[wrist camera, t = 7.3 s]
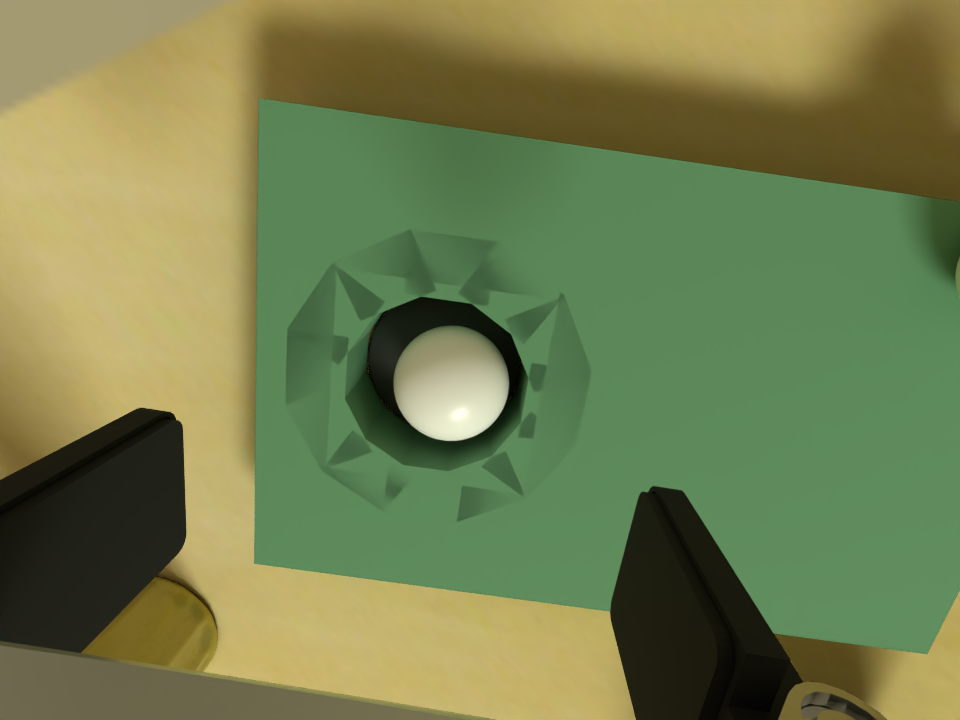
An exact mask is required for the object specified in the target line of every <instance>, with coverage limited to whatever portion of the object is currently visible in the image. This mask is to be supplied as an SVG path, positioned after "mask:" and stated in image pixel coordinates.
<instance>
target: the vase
mask: <svg viewBox="0 0 960 720" xmlns="http://www.w3.org/2000/svg"><path fill="white" fill-rule="evenodd" d="M217 641H218V635H217V629H216V625H215V622H214V620H213V617H212V615H211V613H210V611H209V610H208V609H207V607H206V606H205V605H204V604H203V603H202V602H201V601H200V600H199V599H198V598H197V597H196V596H195V595H194V594H193V593H191V592H190V591H189V590H187V589H186V588H185V587H183V586H181V585H179V584H177V583H174V582H172V581H169V580H166V579H163V578H160V577H155V578H154V579H153V580H152V581H151V582H150V583H149V584H148V585H147V586H146V587H145V588H144V589H143V590H142V591H141V592H140V593H139V594H138V595H137V596H136V597H135V598H134V599H133V600H132V601H131V602H130V603H129V604H128V605H127V606H126V607H125V608H124V610H123V611H122V612H121V613H120V614H119V615H118V616H117V617H116V618H115V619H114V620H113V621H112V622H111V623H110V624H109V625H108V626H107V627H106V628H105V629H104V630H103V631H102V632H101V633H100V634H99V635H98V636H97V637H96V638H95V639H94V640H93V641H92V642H91V643H90V644H89V645H88V646H87V647H86V648H85V649H84V650H83V651H82V653H83V654H89V655H96V656H103V657H109V658H116V659H122V660H129V661H135V662H142V663H148V664H155V665H161V666H168V667H174V668H181V669H187V670H193V671H200V672H203V671H204V670H205V669H206V667H207V666H208V665H209V663H210V661H211V660H212V658H213V656H214V654H215V651H216V648H217Z"/></svg>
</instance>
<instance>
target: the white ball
mask: <svg viewBox="0 0 960 720" xmlns="http://www.w3.org/2000/svg"><path fill="white" fill-rule="evenodd" d="M508 390H509V376H508V370H507V366H506V363H505V361H504V359H503V356H502V355H501V353H500V351H499V350H498V349H497V347H496V346H495V345H494V344H493V343H492V342H491V341H490V340H489V339H488V338H487V337H485V336H484V335H482V334H480V333H479V332H477V331H475V330H472V329H469V328H467V327H462V326H452V325H450V326H440V327H436V328H433V329H431V330H428V331H426V332H424V333H422V334H420V335H419V336H417V337H416V338H415V339H414V340H413V341H412V342H410V344H409V345H408V346H407V347H406V348H405V350H404V351H403V353H402V354H401V356H400V358H399V360H398V362H397V365H396V368H395V373H394V394H395V398H396V402H397V404H398V407H399V409H400V411H401V412H402V414H403V416H404V417H405V419H406V420H407V421H408V422H409V423H410V424H411V425H412V426H413V427H414V428H415V429H417V430H418V431H419V432H421V433H423V434H425V435H427V436H429V437H432V438H434V439H439V440H444V441H458V440H464V439H467V438H471V437H473V436H476V435H478V434H479V433H481V432H483V431H484V430H486V429H487V428H488V427H489V426H491V425H492V424H493V423H494V421H495V420H496V419H497V418H498V416H499V415H500V413H501V412H502V410H503V408H504V405H505V403H506V400H507V396H508Z"/></svg>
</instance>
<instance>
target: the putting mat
mask: <svg viewBox="0 0 960 720" xmlns="http://www.w3.org/2000/svg"><path fill="white" fill-rule="evenodd" d="M959 257H960V202H958V201H951V200H944V199H937V198H931V197H924V196H917V195H910V194H903V193H897V192H890V191H883V190H876V189H870V188H863V187H856V186H849V185H843V184H836V183H829V182H822V181H816V180H809V179H802V178H795V177H789V176H782V175H775V174H768V173H762V172H755V171H748V170H741V169H734V168H728V167H721V166H714V165H707V164H701V163H694V162H687V161H680V160H674V159H667V158H660V157H653V156H647V155H640V154H633V153H626V152H620V151H613V150H606V149H599V148H593V147H586V146H579V145H572V144H565V143H559V142H552V141H545V140H538V139H532V138H525V137H518V136H511V135H505V134H498V133H491V132H484V131H478V130H471V129H464V128H457V127H451V126H444V125H437V124H430V123H424V122H417V121H410V120H403V119H396V118H390V117H383V116H376V115H369V114H363V113H356V112H349V111H342V110H336V109H329V108H322V107H315V106H309V105H302V104H295V103H288V102H282V101H275V100H268V99H261V98H259V109H258V217H257V325H256V433H255V541H254V564H261V565H268V566H276V567H283V568H290V569H298V570H305V571H313V572H320V573H328V574H335V575H343V576H350V577H357V578H365V579H372V580H380V581H387V582H395V583H402V584H409V585H417V586H424V587H432V588H439V589H447V590H454V591H461V592H469V593H476V594H484V595H491V596H499V597H506V598H514V599H521V600H528V601H536V602H543V603H551V604H558V605H566V606H573V607H580V608H588V609H595V610H603V611H610V608H611V600H612V596H613V592H614V588H615V585H616V581H617V577H618V573H619V569H620V565H621V562H622V558H623V554H624V550H625V546H626V543H627V539H628V535H629V531H630V527H631V523H632V520H633V516H634V512H635V508H636V504H637V500H638V497H639V495H640V493H641V492H642V491H643V492H648V491H649V489H650V488H651V487H652V486H658V487H664V488H671V489H677V490H682V491H683V492H684V493H685V494H686V496H687V497H688V499H689V501H690V502H691V504H692V505H693V507H694V509H695V510H696V512H697V513H698V515H699V516H700V518H701V520H702V521H703V523H704V524H705V526H706V527H707V529H708V531H709V532H710V534H711V535H712V537H713V539H714V540H715V542H716V543H717V545H718V546H719V548H720V550H721V551H722V553H723V554H724V556H725V557H726V559H727V561H728V562H729V564H730V565H731V567H732V569H733V570H734V572H735V573H736V575H737V576H738V578H739V580H740V581H741V583H742V584H743V586H744V587H745V589H746V591H747V592H748V594H749V595H750V597H751V598H752V600H753V602H754V603H755V605H756V606H757V608H758V610H759V611H760V613H761V614H762V616H763V617H764V619H765V621H766V622H767V624H768V625H769V627H770V628H771V630H772V632H773V633H774V634H781V635H789V636H796V637H803V638H811V639H818V640H826V641H833V642H841V643H848V644H856V645H863V646H870V647H878V648H885V649H893V650H900V651H908V652H915V653H922V654H928V652H929V650H930V648H931V646H932V644H933V642H934V640H935V638H936V636H937V634H938V632H939V630H940V628H941V626H942V624H943V622H944V620H945V618H946V616H947V614H948V612H949V610H950V608H951V606H952V604H953V602H954V601H955V599H956V597H957V595H958V593H959V591H960V297H959V294H958V292H957V288H956V280H955V276H956V267H957V263H958V260H959ZM389 309H390V310H389ZM386 310H389V311H388V312H387V313H386V314H385V316H384V317H383V318H382V319H381V321H380V323H379V324H378V326H377V328H376V330H375V332H374V334H373V337H372V341H371V345H370V351H369V365H370V373H371V376H372V380H373V383H374V385H375V387H374V385H373V383H372V381H371V379H370V377H369V375H368V373H367V371H366V370H367V357H368V344H369V331H370V330H371V329H372V327H373V326H374V325H375V323H376V322H377V321H378V319H379V318H380V316H381V315H382V314H383V312H384V311H386ZM450 325H452V326H462V327H467V328H469V329H472V330H475V331H477V332H479V333H480V334H482V335H484V336H485V337H487V338H488V339H489V340H490V341H491V342H492V343H493V344H494V345H495V346H496V347H497V349H498V350H499V351H500V353H501V355H502V356H503V359H504V361H505V363H506V366H507V370H508V376H509V390H508V396H507V400H508V399H509V397H510V395H511V393H512V391H513V389H514V386H515V384H516V380H517V376H518V368H519V356H518V353H519V355H520V358H521V360H522V365H521V371H520V377H519V383H518V389H517V392H516V394H515V395H514V396H513V397H512V398H511V399H510V401H509V402H508V403H507V404H506V405H505V406H504V408H503V410H502V412H501V413H500V415H499V416H498V418H497V419H496V420H495V421H494V423H493V424H492V425H491V426H489V427H488V428H487V429H486V430H484V431H483V432H481V433H479V434H478V435H476V436H473V437H471V438H467V439H464V440H458V441H444V440H439V439H434V438H432V437H429V436H427V435H425V434H423V433H421V432H419V431H418V430H417V429H415V428H414V427H412V426H411V425H410V424H408V423H409V422H408V421H407V420H406V419H405V417H404V416H403V414H402V412H401V411H400V409H399V407H398V404H397V402H396V398H395V394H394V373H395V368H396V365H397V362H398V360H399V358H400V356H401V354H402V353H403V351H404V350H405V348H406V347H407V346H408V345H409V344H410V342H412V341H413V340H414V339H415V338H416V337H417V336H419V335H420V334H422V333H424V332H426V331H428V330H431V329H433V328H436V327H440V326H450ZM375 388H376V389H375ZM376 390H377V391H376ZM377 392H378V393H379V395H380V397H381V398H382V400H383V401H384V402H385V404H386V405H387V406H388V407H389V408H390V409H391V410H392V411H393V412H394V413H395V414H396V415H395V414H394V413H393V412H391V411H390V410H388V409H387V408H386V407H384V406H383V404H382V402H381V400H380V398H379V395H378V393H377ZM507 400H506V402H507ZM397 415H398V416H399V417H398V416H397ZM401 418H402V419H401ZM404 420H405V421H406V422H405V421H404ZM407 422H408V423H407Z"/></svg>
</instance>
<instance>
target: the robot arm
mask: <svg viewBox="0 0 960 720" xmlns="http://www.w3.org/2000/svg"><path fill="white" fill-rule="evenodd" d="M185 539H186V509H185V479H184V448H183V427H182V424H181V422H180V421H178V420H176V418H175V416H174V414H172V413H171V412H166V411H159V410H153V409H146V408H139V409H136V410H134V411H132V412H130V413H128V414H126V415H124V416H122V417H120V418H118V419H117V420H115V421H113V422H111V423H109V424H107V425H105V426H103V427H101V428H99V429H97V430H95V431H94V432H92V433H90V434H88V435H86V436H84V437H82V438H80V439H78V440H76V441H74V442H72V443H70V444H69V445H67V446H65V447H63V448H61V449H59V450H57V451H55V452H53V453H51V454H49V455H47V456H46V457H44V458H42V459H40V460H38V461H36V462H34V463H32V464H30V465H28V466H26V467H24V468H23V469H21V470H19V471H17V472H15V473H13V474H11V475H9V476H7V477H5V478H3V479H1V480H0V720H495V719H489V718H483V717H477V716H471V715H465V714H459V713H453V712H447V711H441V710H435V709H429V708H423V707H417V706H411V705H405V704H399V703H393V702H387V701H381V700H375V699H369V698H362V697H356V696H350V695H344V694H337V693H331V692H325V691H319V690H313V689H306V688H300V687H294V686H288V685H282V684H275V683H269V682H263V681H256V680H250V679H244V678H237V677H231V676H225V675H219V674H212V673H206V672H200V671H193V670H187V669H181V668H174V667H168V666H161V665H155V664H148V663H142V662H135V661H129V660H122V659H116V658H109V657H103V656H96V655H89V654H83V653H82V651H83V650H84V649H85V648H86V647H87V646H88V645H89V644H90V643H91V642H92V641H93V640H94V639H95V638H96V637H97V636H98V635H99V634H100V633H101V632H102V631H103V630H104V629H105V628H106V627H107V626H108V625H109V624H110V623H111V622H112V621H113V620H114V619H115V618H116V617H117V616H118V615H119V614H120V613H121V612H122V611H123V610H124V608H125V607H126V606H127V605H128V604H129V603H130V602H131V601H132V600H133V599H134V598H135V597H136V596H137V595H138V594H139V593H140V592H141V591H142V590H143V589H144V588H145V587H146V586H147V585H148V584H149V583H150V582H151V581H152V580H153V579H154V578H155V577H156V576H157V575H158V574H159V573H160V572H161V571H162V570H163V569H164V568H165V566H166V565H167V564H168V563H169V562H170V561H171V560H172V559H173V558H174V557H175V556H176V555H177V554H178V553H179V552H180V550H181V549H182V547H183V545H184V542H185ZM610 614H611V622H612V626H613V630H614V634H615V638H616V642H617V646H618V650H619V654H620V658H621V661H622V665H623V669H624V673H625V677H626V681H627V685H628V689H629V693H630V697H631V701H632V705H633V709H634V713H635V717H636V720H887V719H886V718H885V717H884V716H883V715H882V714H881V713H879V712H878V711H877V710H875V709H874V708H872V707H871V706H869V705H868V704H866V703H865V702H864V701H862V700H861V699H859V698H857V697H855V696H853V695H851V694H849V693H847V692H845V691H843V690H841V689H839V688H836V687H833V686H830V685H827V684H824V683H817V682H804V683H803V681H802V680H801V678H800V676H799V675H798V673H797V672H796V670H795V668H794V667H793V665H792V664H791V662H790V658H789V657H788V655H787V654H786V652H785V651H784V649H783V647H782V646H781V644H780V643H779V641H778V640H777V638H776V636H775V635H774V633H773V632H772V630H771V628H770V627H769V625H768V624H767V622H766V621H765V619H764V617H763V616H762V614H761V613H760V611H759V610H758V608H757V606H756V605H755V603H754V602H753V600H752V598H751V597H750V595H749V594H748V592H747V591H746V589H745V587H744V586H743V584H742V583H741V581H740V580H739V578H738V576H737V575H736V573H735V572H734V570H733V569H732V567H731V565H730V564H729V562H728V561H727V559H726V557H725V556H724V554H723V553H722V551H721V550H720V548H719V546H718V545H717V543H716V542H715V540H714V539H713V537H712V535H711V534H710V532H709V531H708V529H707V527H706V526H705V524H704V523H703V521H702V520H701V518H700V516H699V515H698V513H697V512H696V510H695V509H694V507H693V505H692V504H691V502H690V501H689V499H688V497H687V496H686V494H685V493H684V492H683V491H682V490H677V489H671V488H664V487H658V486H652V487H651V488H650V489H649V491H648V492H643V491H642V492H641V493H640V495H639V497H638V500H637V504H636V508H635V512H634V516H633V520H632V523H631V527H630V531H629V535H628V539H627V543H626V546H625V550H624V554H623V558H622V562H621V565H620V569H619V573H618V577H617V581H616V585H615V588H614V592H613V596H612V600H611V608H610Z"/></svg>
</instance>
